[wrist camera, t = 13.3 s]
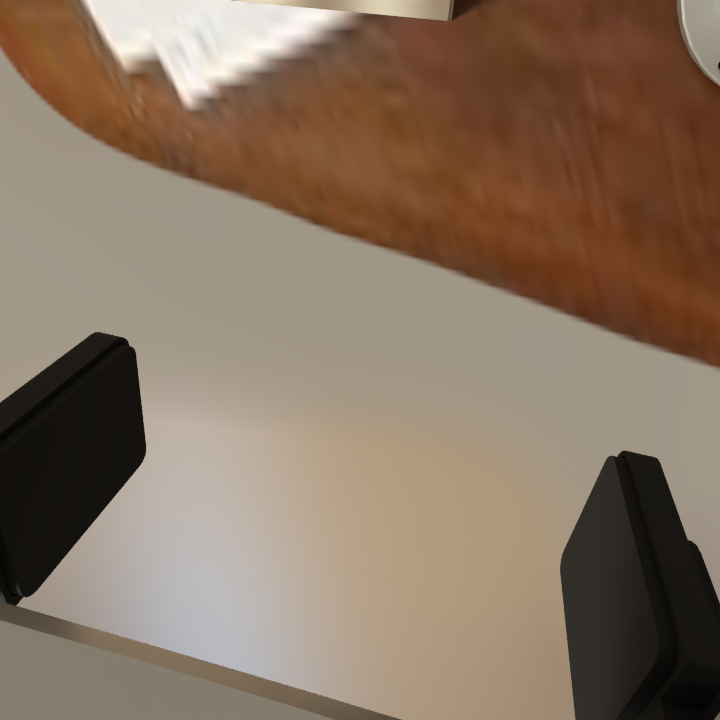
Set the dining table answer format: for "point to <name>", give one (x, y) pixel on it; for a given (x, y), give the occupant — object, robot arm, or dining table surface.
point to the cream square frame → (377, 7)
